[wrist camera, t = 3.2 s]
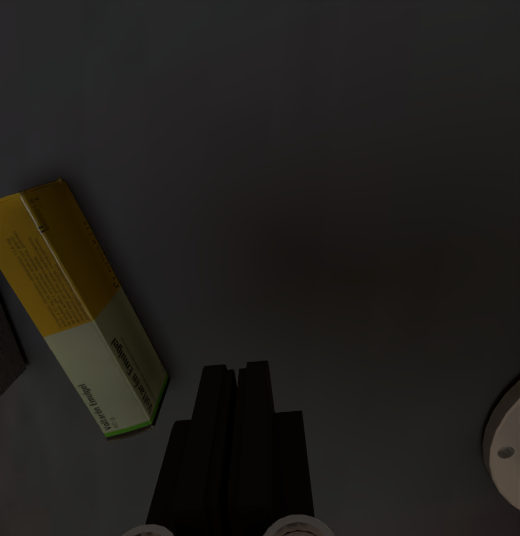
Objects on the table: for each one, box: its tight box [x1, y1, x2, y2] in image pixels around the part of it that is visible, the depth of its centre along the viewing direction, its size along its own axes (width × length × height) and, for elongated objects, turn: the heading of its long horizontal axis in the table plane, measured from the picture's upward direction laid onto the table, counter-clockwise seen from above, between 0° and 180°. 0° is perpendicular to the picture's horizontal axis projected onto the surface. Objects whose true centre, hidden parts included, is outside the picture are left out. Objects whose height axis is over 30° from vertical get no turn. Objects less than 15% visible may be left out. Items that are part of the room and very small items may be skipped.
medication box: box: [0, 177, 170, 442], centre depth 19 cm, size 12×3×4 cm, turn 20°
